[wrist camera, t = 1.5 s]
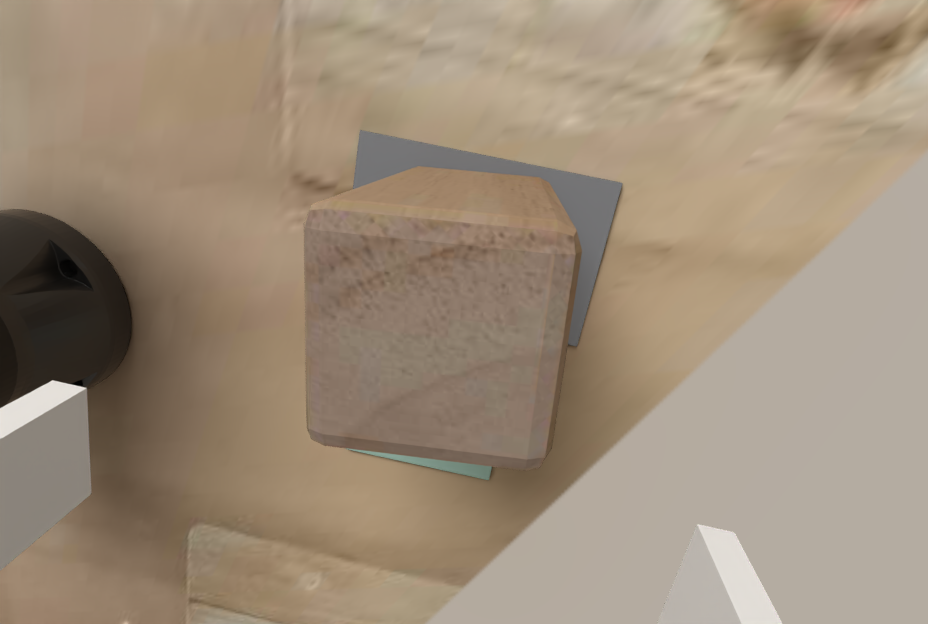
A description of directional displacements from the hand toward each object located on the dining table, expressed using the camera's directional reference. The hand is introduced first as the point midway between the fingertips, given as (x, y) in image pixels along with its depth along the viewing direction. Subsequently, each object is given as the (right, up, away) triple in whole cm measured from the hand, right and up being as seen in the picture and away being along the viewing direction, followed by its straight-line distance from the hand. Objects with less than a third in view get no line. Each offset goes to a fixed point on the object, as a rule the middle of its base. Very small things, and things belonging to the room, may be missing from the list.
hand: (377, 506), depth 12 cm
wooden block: (+2, +9, +27) cm, 29 cm away
